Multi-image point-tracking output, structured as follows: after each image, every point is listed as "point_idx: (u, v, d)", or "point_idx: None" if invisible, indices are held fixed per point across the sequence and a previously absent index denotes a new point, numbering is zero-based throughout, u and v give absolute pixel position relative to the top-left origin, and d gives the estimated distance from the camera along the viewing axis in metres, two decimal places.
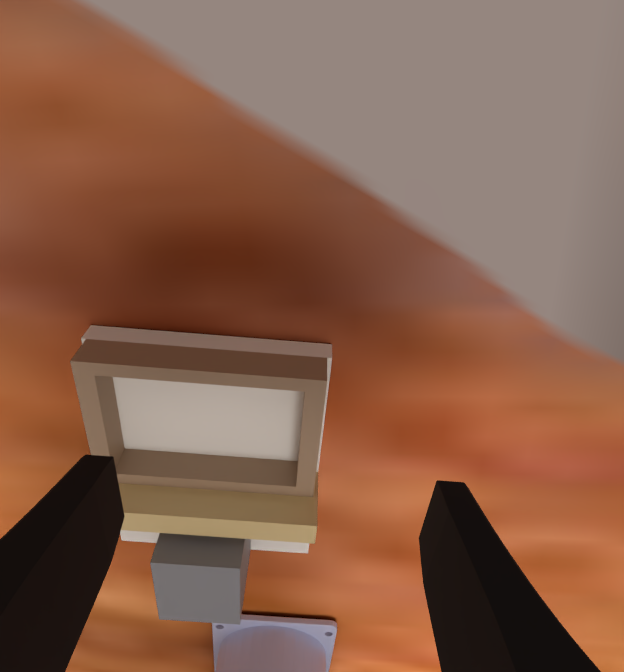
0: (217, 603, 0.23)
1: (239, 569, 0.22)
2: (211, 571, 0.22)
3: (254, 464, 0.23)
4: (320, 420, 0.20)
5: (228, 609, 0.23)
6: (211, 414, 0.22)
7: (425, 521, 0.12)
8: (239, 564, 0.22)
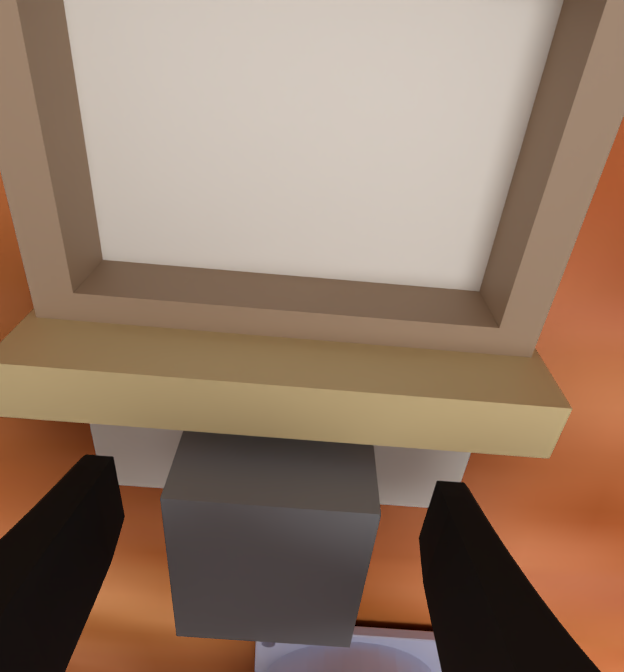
0: (310, 600, 0.10)
1: (378, 516, 0.09)
2: (309, 521, 0.09)
3: (390, 291, 0.11)
4: (623, 102, 0.08)
5: (330, 614, 0.11)
6: (304, 155, 0.09)
7: (425, 521, 0.12)
8: (376, 505, 0.09)
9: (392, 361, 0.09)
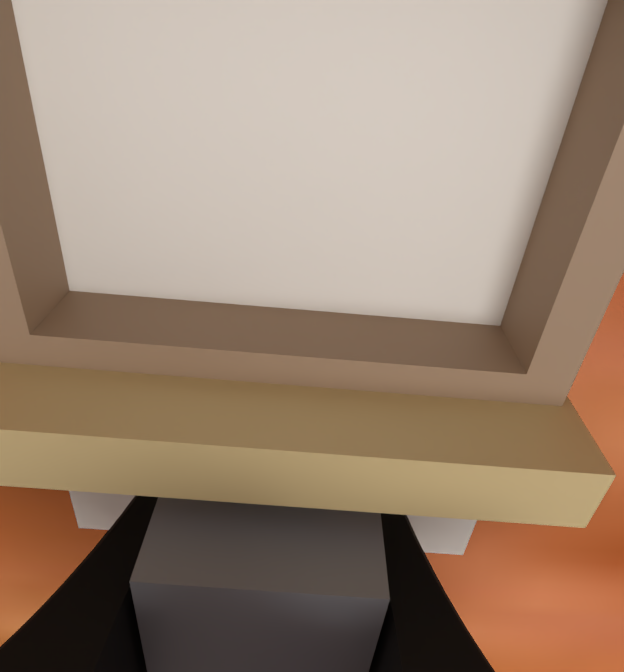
0: None
1: (386, 600, 0.08)
2: (305, 605, 0.08)
3: (399, 328, 0.09)
4: None
5: None
6: (300, 172, 0.08)
7: None
8: (384, 586, 0.08)
9: (402, 414, 0.08)
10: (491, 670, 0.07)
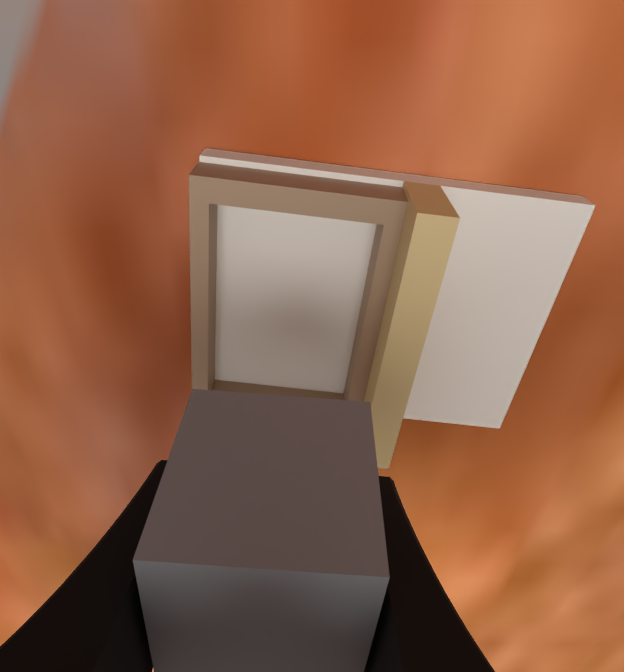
0: (308, 664, 0.09)
1: (386, 579, 0.08)
2: (306, 584, 0.08)
3: (369, 267, 0.18)
4: (256, 185, 0.15)
5: None
6: (294, 302, 0.19)
7: None
8: (384, 565, 0.08)
9: (391, 291, 0.16)
10: (491, 670, 0.07)
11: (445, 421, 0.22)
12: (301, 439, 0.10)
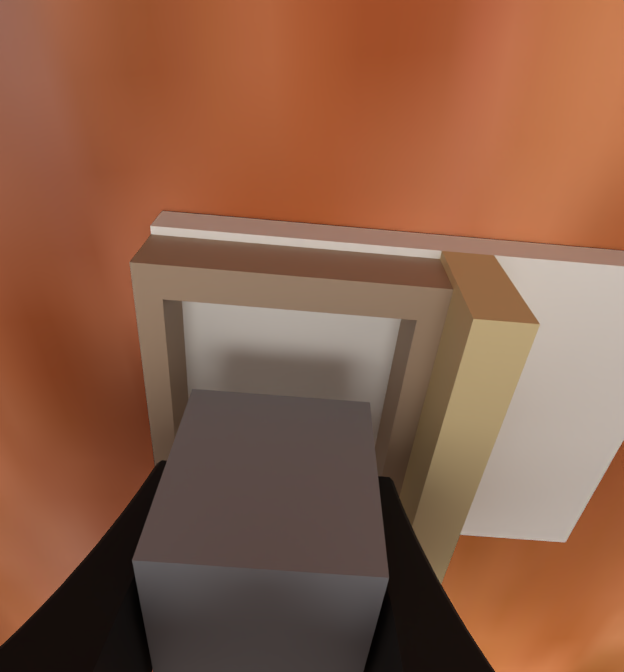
0: (306, 664, 0.09)
1: (385, 579, 0.08)
2: (306, 585, 0.08)
3: (394, 364, 0.13)
4: (228, 274, 0.10)
5: None
6: None
7: None
8: (383, 565, 0.08)
9: (429, 409, 0.12)
10: (491, 670, 0.07)
11: (495, 535, 0.17)
12: (301, 439, 0.10)
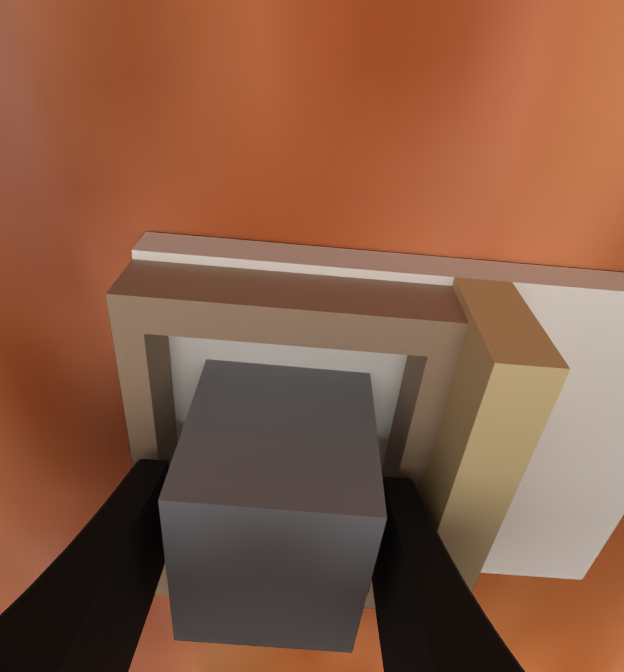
0: (311, 605, 0.10)
1: (383, 520, 0.09)
2: (312, 524, 0.09)
3: (401, 398, 0.12)
4: (217, 307, 0.09)
5: (333, 618, 0.10)
6: None
7: None
8: (382, 508, 0.09)
9: (441, 453, 0.10)
10: None
11: (506, 573, 0.16)
12: (307, 403, 0.11)
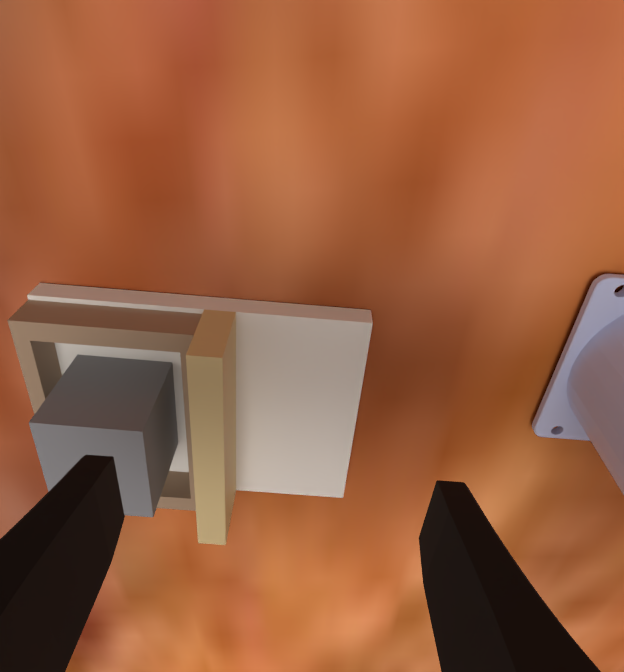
0: (121, 484, 0.19)
1: (141, 433, 0.17)
2: (107, 435, 0.17)
3: None
4: (65, 326, 0.18)
5: (135, 493, 0.19)
6: None
7: (425, 521, 0.12)
8: (142, 427, 0.17)
9: None
10: None
11: (293, 493, 0.25)
12: (126, 378, 0.20)
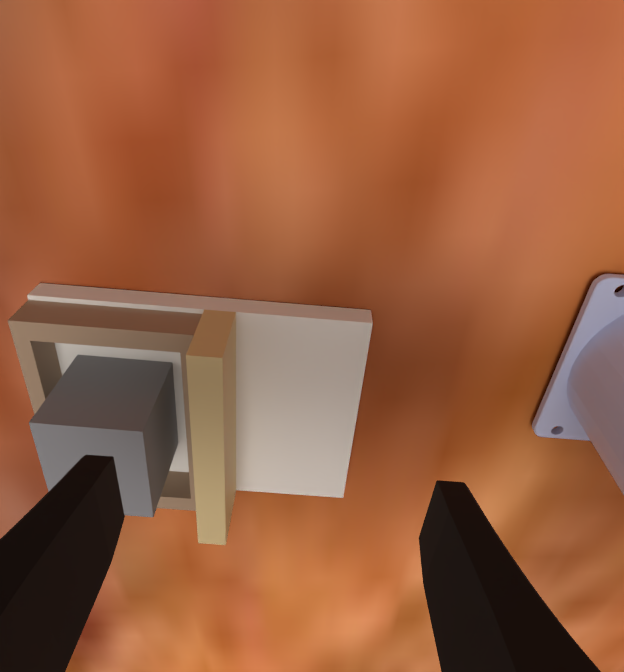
0: (121, 484, 0.19)
1: (141, 433, 0.17)
2: (107, 435, 0.17)
3: None
4: (65, 327, 0.18)
5: (135, 493, 0.19)
6: None
7: (425, 521, 0.12)
8: (142, 427, 0.17)
9: None
10: None
11: (293, 493, 0.25)
12: (126, 378, 0.20)
